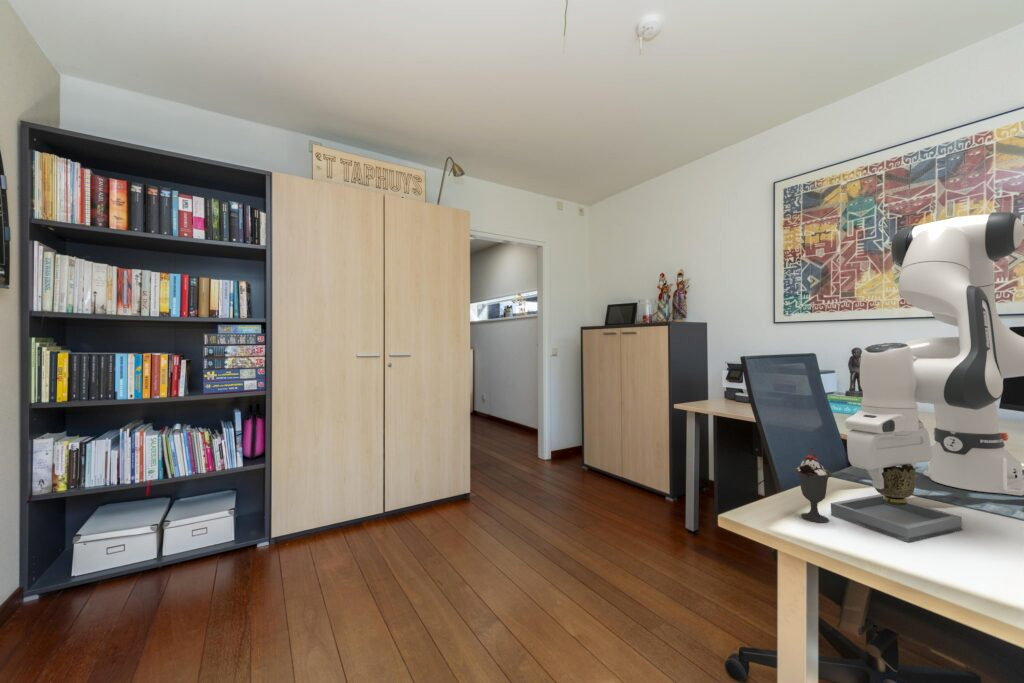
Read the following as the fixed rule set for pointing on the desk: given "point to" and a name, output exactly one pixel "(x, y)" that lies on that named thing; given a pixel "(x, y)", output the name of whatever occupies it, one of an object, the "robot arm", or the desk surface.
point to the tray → (897, 518)
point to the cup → (898, 484)
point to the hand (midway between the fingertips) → (892, 486)
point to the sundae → (813, 486)
